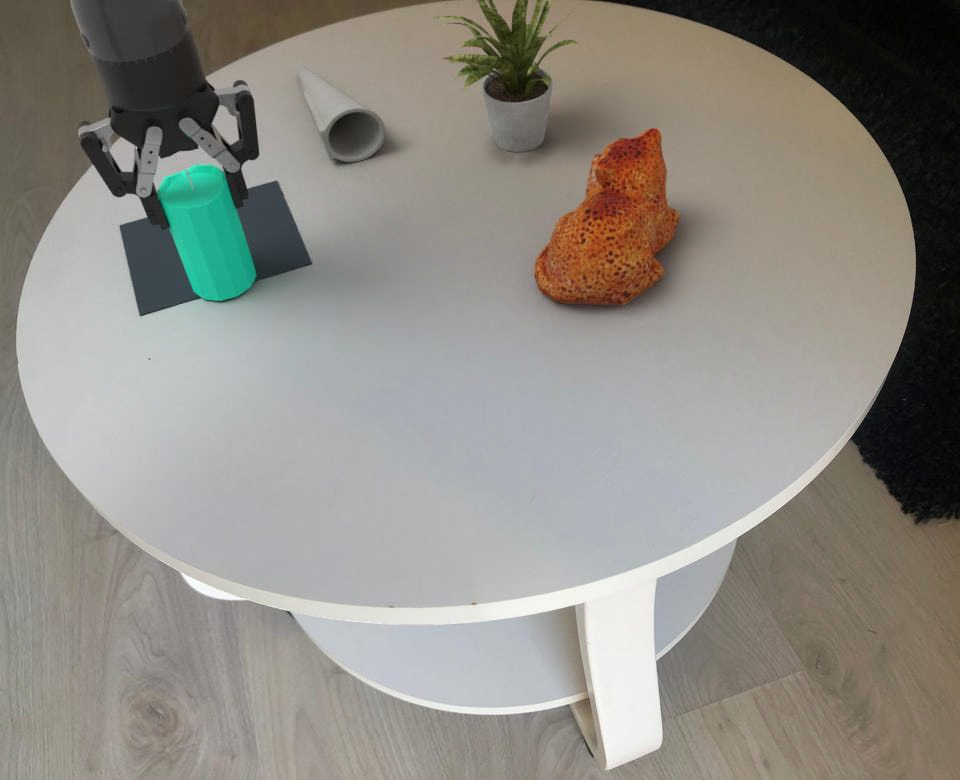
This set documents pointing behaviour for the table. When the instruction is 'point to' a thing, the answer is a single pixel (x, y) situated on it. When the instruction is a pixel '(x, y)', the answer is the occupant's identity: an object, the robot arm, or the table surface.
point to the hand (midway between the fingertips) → (201, 212)
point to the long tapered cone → (341, 119)
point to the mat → (162, 267)
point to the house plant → (511, 74)
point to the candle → (207, 232)
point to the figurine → (612, 229)
